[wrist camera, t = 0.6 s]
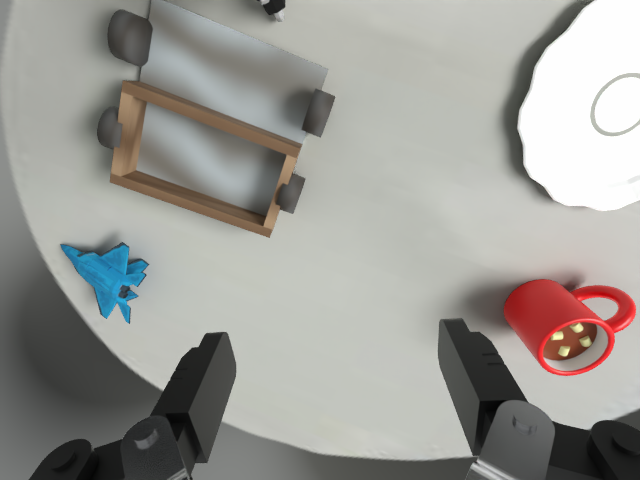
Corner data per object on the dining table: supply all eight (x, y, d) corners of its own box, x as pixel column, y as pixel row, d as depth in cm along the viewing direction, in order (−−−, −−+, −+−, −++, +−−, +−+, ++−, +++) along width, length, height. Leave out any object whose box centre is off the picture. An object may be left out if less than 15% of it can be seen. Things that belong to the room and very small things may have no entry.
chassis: (138, -10, 31) (113, -23, 28) (342, 75, 34) (344, 73, 30) (114, 173, 38) (91, 182, 35) (285, 233, 41) (280, 247, 37)
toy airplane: (152, 231, 41) (134, 245, 37) (176, 301, 45) (162, 320, 41) (61, 243, 42) (33, 258, 38) (91, 311, 45) (69, 331, 42)
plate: (746, -67, 29) (769, -76, 28) (730, 164, 37) (747, 167, 35) (495, 38, 33) (503, 36, 31) (528, 230, 40) (535, 235, 39)
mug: (610, 297, 43) (666, 338, 36) (518, 340, 46) (553, 386, 39) (589, 250, 41) (644, 285, 34) (493, 299, 44) (526, 340, 36)
